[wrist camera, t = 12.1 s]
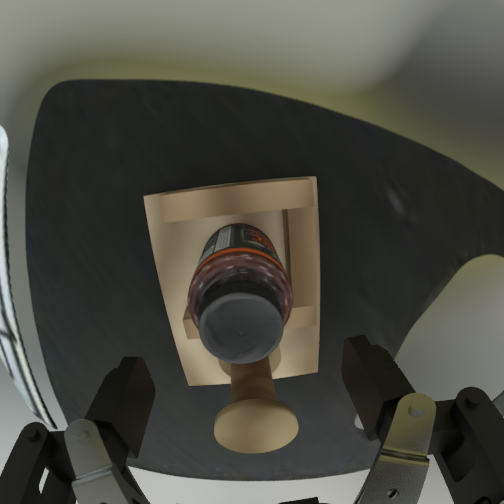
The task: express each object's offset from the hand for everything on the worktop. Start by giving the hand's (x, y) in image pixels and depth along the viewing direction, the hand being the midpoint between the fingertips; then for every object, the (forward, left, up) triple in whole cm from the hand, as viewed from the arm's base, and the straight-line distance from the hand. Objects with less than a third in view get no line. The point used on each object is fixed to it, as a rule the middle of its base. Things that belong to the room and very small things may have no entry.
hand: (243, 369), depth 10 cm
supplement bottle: (0, 0, -14) cm, 14 cm away
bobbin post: (0, +10, -15) cm, 18 cm away
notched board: (0, +4, -15) cm, 15 cm away
